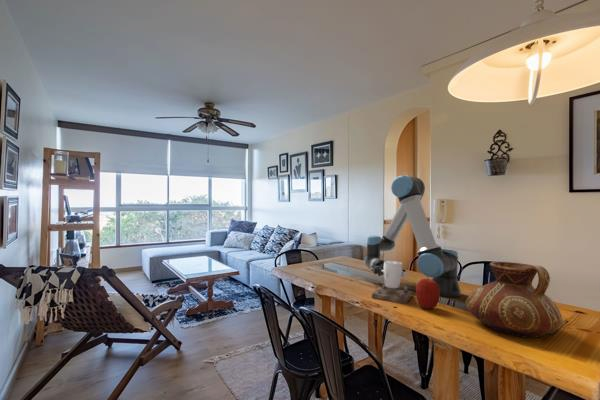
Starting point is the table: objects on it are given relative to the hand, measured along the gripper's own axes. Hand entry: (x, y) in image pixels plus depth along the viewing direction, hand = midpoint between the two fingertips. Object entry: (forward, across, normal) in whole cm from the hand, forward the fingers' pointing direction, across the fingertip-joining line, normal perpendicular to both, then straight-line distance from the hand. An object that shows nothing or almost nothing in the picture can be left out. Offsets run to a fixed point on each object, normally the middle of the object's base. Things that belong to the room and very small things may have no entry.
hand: (396, 275), depth 149 cm
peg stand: (-4, 0, -11) cm, 12 cm away
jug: (+34, -31, -11) cm, 47 cm away
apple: (+13, -9, -11) cm, 19 cm away
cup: (-5, 0, -7) cm, 8 cm away
